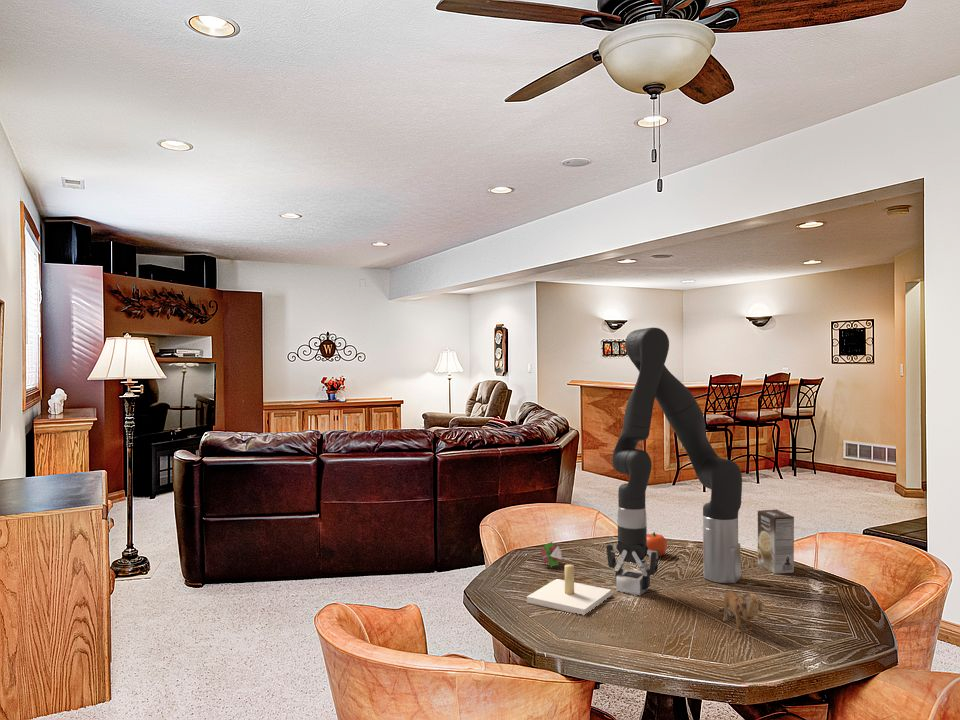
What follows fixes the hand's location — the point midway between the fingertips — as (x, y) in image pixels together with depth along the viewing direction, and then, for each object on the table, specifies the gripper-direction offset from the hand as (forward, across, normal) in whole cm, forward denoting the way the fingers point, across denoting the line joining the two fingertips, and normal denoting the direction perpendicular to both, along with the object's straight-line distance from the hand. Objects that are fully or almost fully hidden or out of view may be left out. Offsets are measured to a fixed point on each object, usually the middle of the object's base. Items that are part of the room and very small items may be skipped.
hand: (632, 586), depth 180 cm
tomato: (+1, +6, -33) cm, 34 cm away
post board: (+1, +11, +15) cm, 19 cm away
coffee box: (+1, -28, -39) cm, 48 cm away
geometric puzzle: (+1, +28, -7) cm, 29 cm away
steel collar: (+1, 0, 0) cm, 1 cm away
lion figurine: (+1, -30, +9) cm, 31 cm away
